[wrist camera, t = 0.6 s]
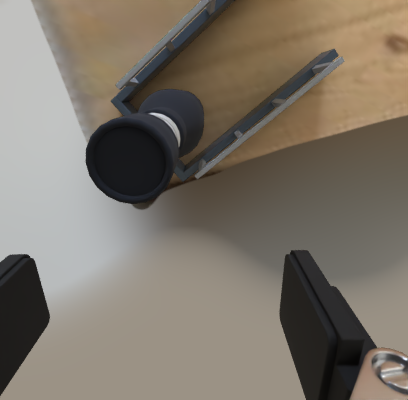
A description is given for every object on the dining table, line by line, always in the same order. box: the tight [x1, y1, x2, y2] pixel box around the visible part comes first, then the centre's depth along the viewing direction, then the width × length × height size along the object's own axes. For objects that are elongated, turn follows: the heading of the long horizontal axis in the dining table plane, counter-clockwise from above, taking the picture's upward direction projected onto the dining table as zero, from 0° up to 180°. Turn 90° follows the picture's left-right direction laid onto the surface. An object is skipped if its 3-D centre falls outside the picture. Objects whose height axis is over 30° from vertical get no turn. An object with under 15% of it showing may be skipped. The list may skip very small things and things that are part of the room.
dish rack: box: [111, 0, 344, 182], centre depth 34 cm, size 25×14×10 cm, turn 130°
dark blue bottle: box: [86, 89, 204, 204], centre depth 26 cm, size 6×6×30 cm
